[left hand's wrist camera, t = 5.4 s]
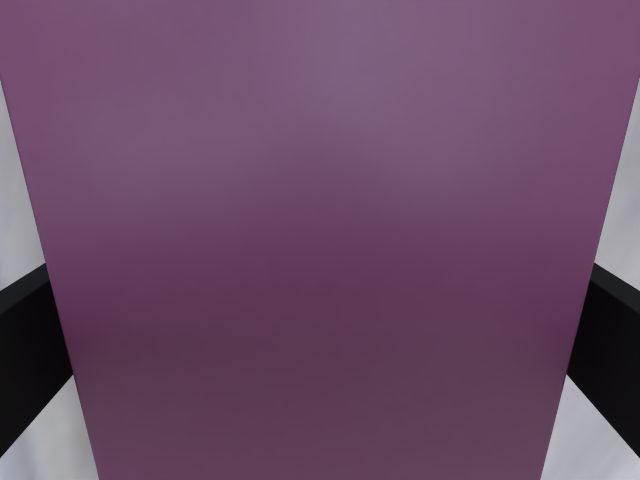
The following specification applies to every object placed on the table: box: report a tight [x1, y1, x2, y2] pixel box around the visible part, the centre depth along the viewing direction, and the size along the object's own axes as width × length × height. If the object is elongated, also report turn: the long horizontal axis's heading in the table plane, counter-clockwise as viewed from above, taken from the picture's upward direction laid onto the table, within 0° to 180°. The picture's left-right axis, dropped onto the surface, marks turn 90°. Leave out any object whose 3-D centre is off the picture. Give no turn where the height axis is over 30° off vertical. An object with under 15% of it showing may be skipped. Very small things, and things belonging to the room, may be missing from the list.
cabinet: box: [0, 0, 640, 480], centre depth 12 cm, size 21×11×11 cm, turn 0°
